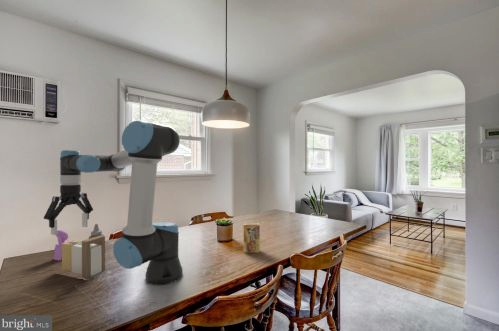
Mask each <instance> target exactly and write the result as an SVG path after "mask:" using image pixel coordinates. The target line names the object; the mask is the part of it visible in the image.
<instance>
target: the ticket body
mask: <svg viewBox="0 0 499 331" xmlns="http://www.w3.org/2000/svg"><path fill="white" fill-rule="evenodd" d="M96 242H97V244H93V243H96ZM105 250H106V235H104V236H97V237H94V238H90V239H89V238H87V239H84V240H81V242H80V243H77V244H73V245H72V246H71V267H72V272H73V273H78V274H82V277H83V278H89V277H91V276H93V275H96V274H98V273H100V272H102V271H104V270H105V268H106V251H105Z"/></svg>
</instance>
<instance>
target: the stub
mask: <svg viewBox="0 0 499 331" xmlns="http://www.w3.org/2000/svg"><path fill="white" fill-rule="evenodd" d="M68 241H69V242H66V241H64V242H65V243H62V257H61V258H62V261H61V267H62V270H65V271H69V272H72V267H71V246H72V245H73V244H77V243H80V242H82V240H81V241H80V240H74V239H73V240H68Z"/></svg>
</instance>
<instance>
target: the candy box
mask: <svg viewBox="0 0 499 331" xmlns="http://www.w3.org/2000/svg"><path fill="white" fill-rule="evenodd" d="M260 228H261V227H260V223H259V222H257V223H249V222H248V223H243V253H260V244H261V242H260V235H261V234H260V233H261V232H260V231H261V229H260Z"/></svg>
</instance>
